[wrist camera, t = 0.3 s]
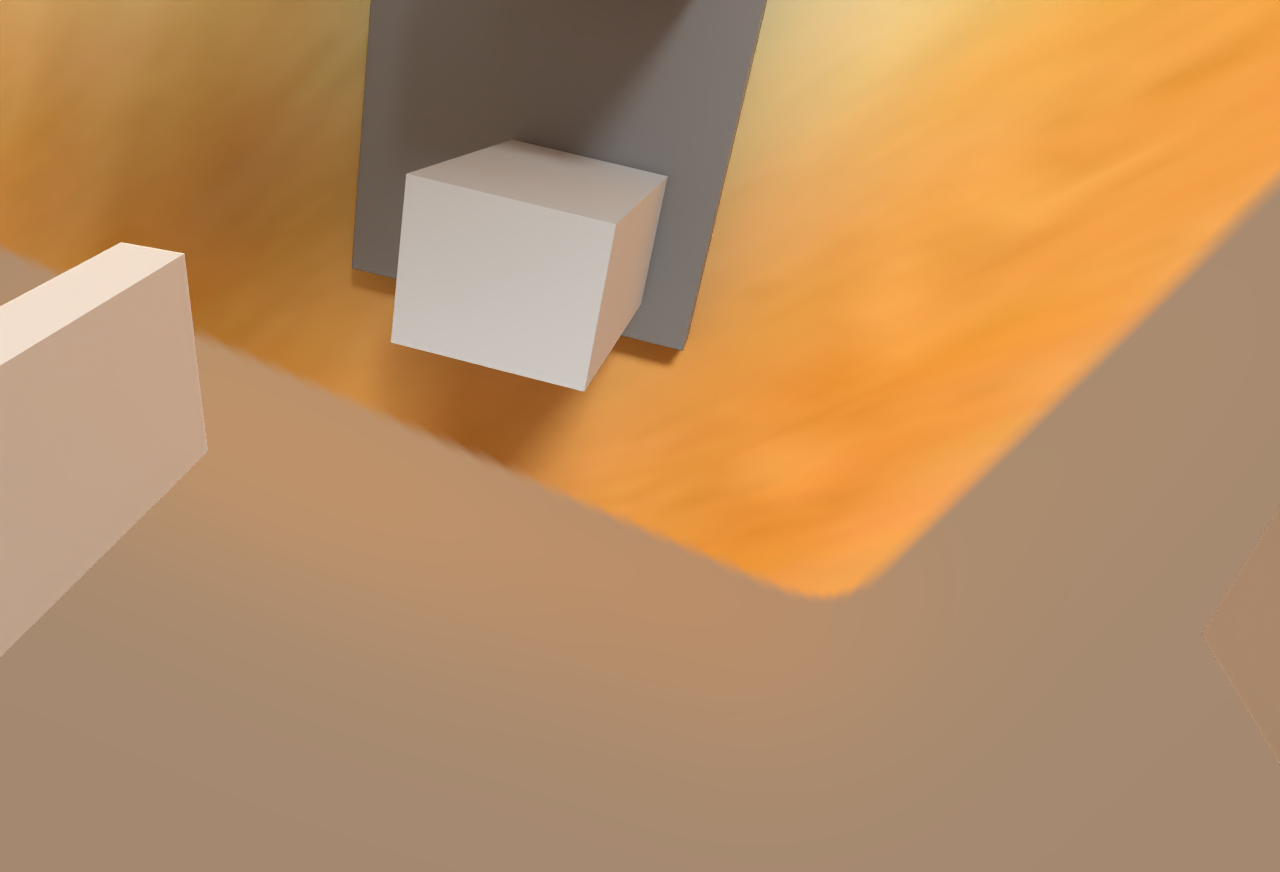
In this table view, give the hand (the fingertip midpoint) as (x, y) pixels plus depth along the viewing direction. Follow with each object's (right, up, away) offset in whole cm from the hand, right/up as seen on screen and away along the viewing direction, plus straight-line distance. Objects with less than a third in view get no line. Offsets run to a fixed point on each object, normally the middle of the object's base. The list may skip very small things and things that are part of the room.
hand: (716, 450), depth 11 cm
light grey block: (-3, +8, +24) cm, 26 cm away
